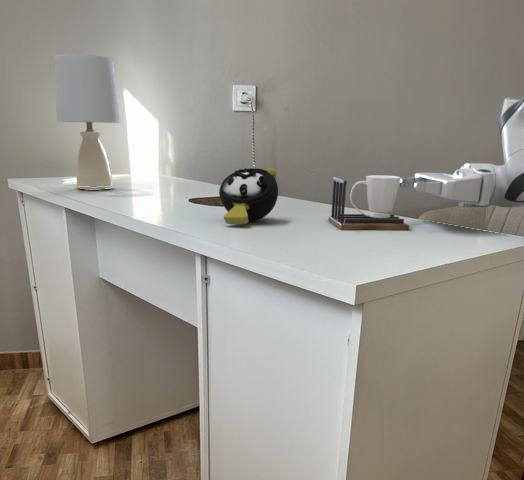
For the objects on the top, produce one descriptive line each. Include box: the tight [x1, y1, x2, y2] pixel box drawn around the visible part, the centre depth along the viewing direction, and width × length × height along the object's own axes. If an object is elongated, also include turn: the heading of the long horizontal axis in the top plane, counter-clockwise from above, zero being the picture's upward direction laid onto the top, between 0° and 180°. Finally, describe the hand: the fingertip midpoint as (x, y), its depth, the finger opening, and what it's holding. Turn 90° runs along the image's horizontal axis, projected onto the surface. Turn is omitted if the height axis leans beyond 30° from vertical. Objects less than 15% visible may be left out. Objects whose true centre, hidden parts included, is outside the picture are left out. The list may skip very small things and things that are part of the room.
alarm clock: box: [218, 167, 279, 225], centre depth 118 cm, size 12×15×15 cm
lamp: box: [53, 53, 122, 189], centre depth 169 cm, size 19×19×37 cm
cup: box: [349, 174, 402, 218], centre depth 115 cm, size 7×10×8 cm
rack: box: [328, 176, 410, 231], centre depth 116 cm, size 14×12×9 cm
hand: (407, 184), depth 115 cm, fingers open, 8 cm apart
